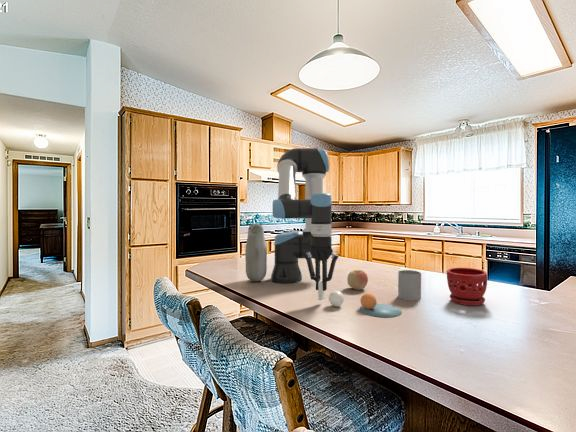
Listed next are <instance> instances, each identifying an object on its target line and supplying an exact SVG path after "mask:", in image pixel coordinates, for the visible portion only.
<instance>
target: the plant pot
mask: <svg viewBox="0 0 576 432" xmlns="http://www.w3.org/2000/svg"><path fill="white" fill-rule="evenodd" d="M446 281H447V286H448V289H449V292H450V294H449V298H450V299H451V300H452V302H454V303H456V304H460V305H465V306H472V307H473V306H474V307H476V306H480V305H483V304H484V303H485V301H486V298H485V297H484V296H485V294H486V291H487V287H488V273H487V272H486V271H485V270H482V269H478V268H472V267H451V268H449V269H448V268H447V270H446Z"/></svg>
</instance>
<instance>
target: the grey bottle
mask: <svg viewBox="0 0 576 432" xmlns="http://www.w3.org/2000/svg"><path fill="white" fill-rule="evenodd" d="M244 248H245V249H244V250H245V252H244V254H245V255H244V257H245V258H244V259H245V274H246V277H247V279H248V280H250V282H251V281H252V282H254V283H255V282H261V281H263V280H264V279H265V277H266V275H267V270H268V269H267V268H268V267H267V265H268V264H267V262H268V261H267V259H268V257H267V255H268V254H267V253H268V250H267V243H266V239H265V231H264V226H263V225H262V224H261V223H256V222H255V223H252V224H250V225H249V227H248V230H247V238H246V243H245V247H244Z"/></svg>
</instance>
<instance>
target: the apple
mask: <svg viewBox="0 0 576 432" xmlns="http://www.w3.org/2000/svg"><path fill="white" fill-rule="evenodd" d="M346 279H347V284H348V286H349V287H350V288H351V289H354V290H357V291H361V290H364V289H365V288H366V286H367V284H368V281H369V277H368V274H367V273H366V272H365V271H364V270H361V269H355V270H351V271H349V273H348V274H347V278H346Z"/></svg>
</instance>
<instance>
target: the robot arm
mask: <svg viewBox="0 0 576 432" xmlns="http://www.w3.org/2000/svg"><path fill="white" fill-rule="evenodd" d="M329 161H330V160H329V155H328V152H327V150H326V149H325V148H321V147H320V148H319V147H313V148H311V147H309V148H306V147H305V148H304V147H303V148H296V147H295V148H292V149H289V150H287V151H285V152H284V153H283V154H282V155H281V156H280V157H279V159H278V161H277V166H276V167H277V168H276V169H277V172H278V188H277V190H278V193H277V195H278V196H277V199H273V201H272V206H271V207H272V208H271V209H272V217H273V218H275V219H283V220H284V219H305V226H304V227H305V228H303V230H302V234H299V232H298V231H288V232H282V233H279V234H278V233H277V234H276V235H275V236H274V244H273V245H274V265H273V268H272V272H271V274H270V280H271V282H275V283H279V284H291V283H292V284H293V283H298V282H301V281H302V279H303V276H302V275H303V274H302V271H301V269H300V265H299V259H305V261H306V264H307V268H308V274H309V277H310V280H311V281H312V280H313V281H314V282H315V290H316V291H317V294H318V296H317V297H318V301H323V300H324V299H325V292H326V291H327V289H328V282H330V281H331V280H332V279H333V274H334V271H335V266H336V264H337V260H338V259H339V257H340V255H339V254H336V253H335V252H334V251H333V246H332V236H331V235H332V232H333V231H332V204H333V202H332V194H330V193H327V192H325V193H324V189H323V188H324V187H323V186H324V185H323V184H324V182H323V181H324V178H325V177H326V175H327V174H326V173H329V171H330V167H329V166H330V162H329ZM297 173H301V175H302V177H303V179H304V180H305V181H304V182H305V183H304V186H305V189H304V191H305V199H300V198H299V199H297V194H296V193H297V190H296V189H297V188H296V187H297V183H296V174H297ZM330 257H331V261H330V266H329V271H328V260H329V258H330ZM312 259H314V263H315V268H314V264H313V261H312ZM321 264H322V265H321ZM321 270H322V271H321ZM321 272H322V275H321ZM321 277H322V279H321Z"/></svg>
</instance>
